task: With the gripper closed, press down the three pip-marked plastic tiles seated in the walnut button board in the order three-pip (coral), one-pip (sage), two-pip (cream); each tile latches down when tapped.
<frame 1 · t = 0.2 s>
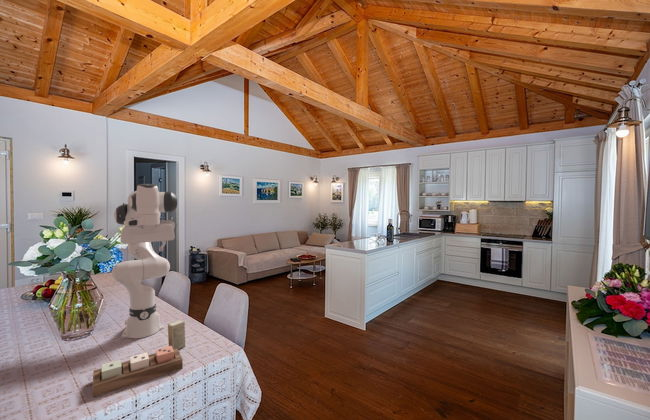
hand: (149, 252, 126), 47 cm above the table, fingers open, 8 cm apart
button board: (139, 374, 116), on the table
tile 1pip: (111, 371, 110), point 4 cm above the table, slide at 0.0 cm
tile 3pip: (164, 356, 121), point 4 cm above the table, slide at 0.0 cm
tile 2pip: (139, 363, 116), point 4 cm above the table, slide at 0.0 cm
skincare box: (176, 348, 137), on the table
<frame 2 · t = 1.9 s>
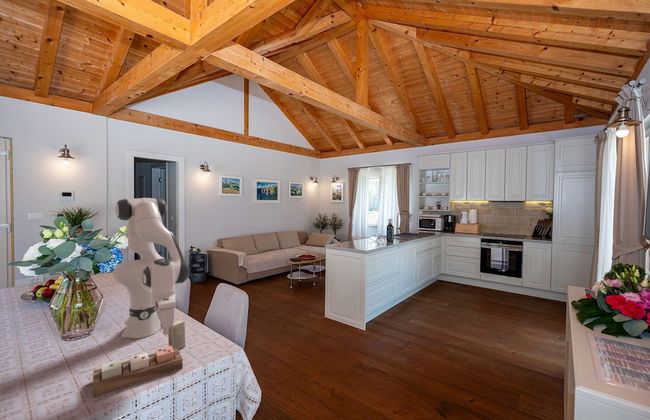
hand: (164, 330, 121), 15 cm above the table, fingers open, 6 cm apart
nothing on the table moved.
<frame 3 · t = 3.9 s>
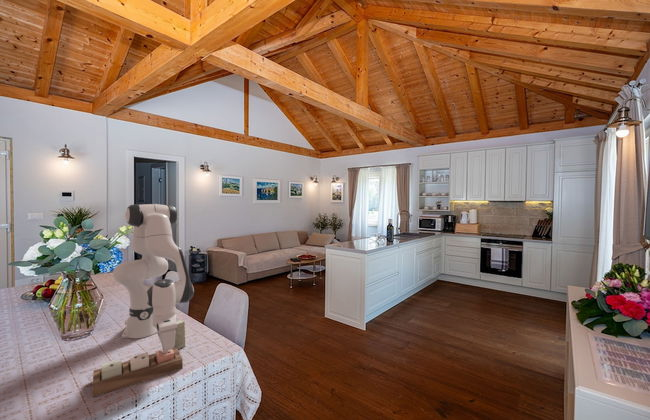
hand: (165, 351, 121), 6 cm above the table, fingers closed, pressing on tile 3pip
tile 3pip: (164, 357, 121), point 4 cm above the table, slide at 0.7 cm, touching gripper
everything else where it was.
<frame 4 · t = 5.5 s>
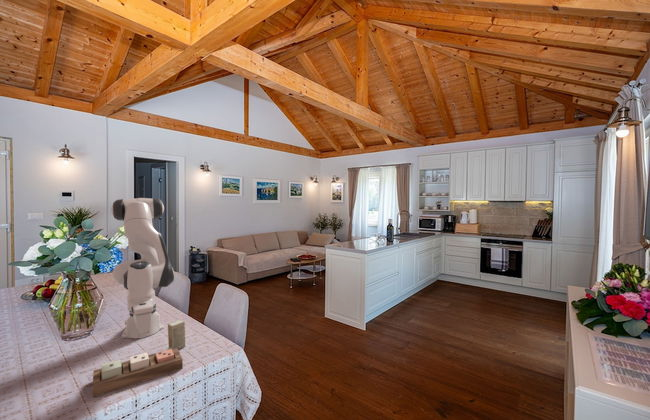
hand: (141, 336, 116), 15 cm above the table, fingers closed
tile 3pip: (164, 359, 121), point 3 cm above the table, slide at 1.4 cm
everything else where it was.
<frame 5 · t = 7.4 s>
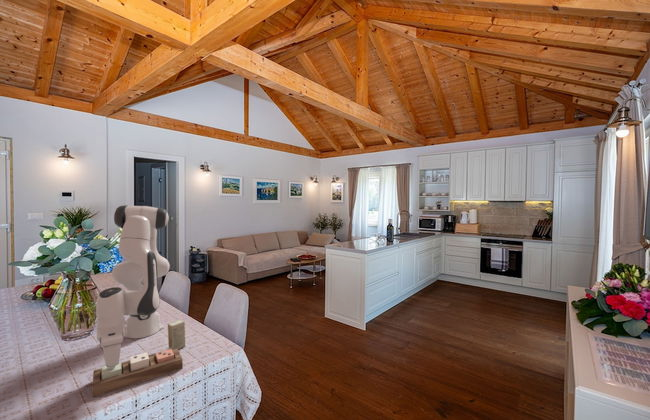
hand: (112, 367, 110), 6 cm above the table, fingers closed, pressing on tile 1pip
tile 1pip: (111, 373, 110), point 3 cm above the table, slide at 0.9 cm, touching gripper
everything else where it was.
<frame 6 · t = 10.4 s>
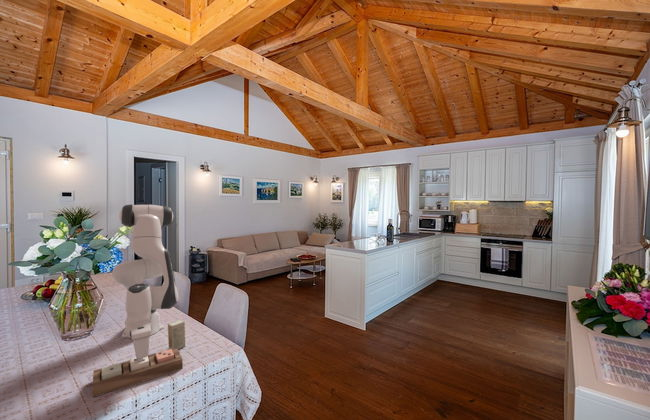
hand: (140, 359, 116), 6 cm above the table, fingers closed, pressing on tile 2pip
tile 1pip: (111, 375, 110), point 3 cm above the table, slide at 1.4 cm
tile 2pip: (139, 365, 116), point 3 cm above the table, slide at 1.0 cm, touching gripper
everything else where it was.
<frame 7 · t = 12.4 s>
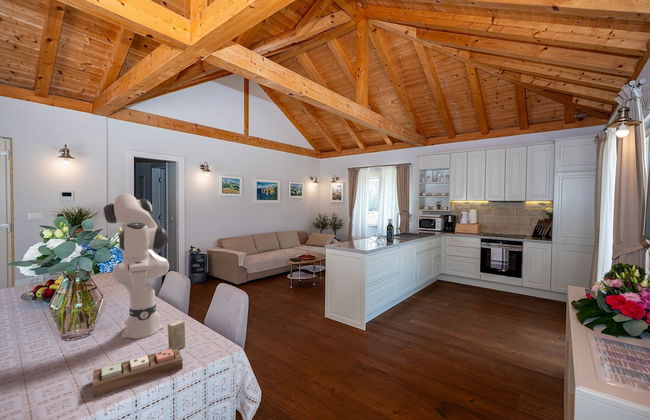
hand: (137, 294, 120), 31 cm above the table, fingers closed
tile 2pip: (139, 366, 116), point 3 cm above the table, slide at 1.4 cm
everything else where it was.
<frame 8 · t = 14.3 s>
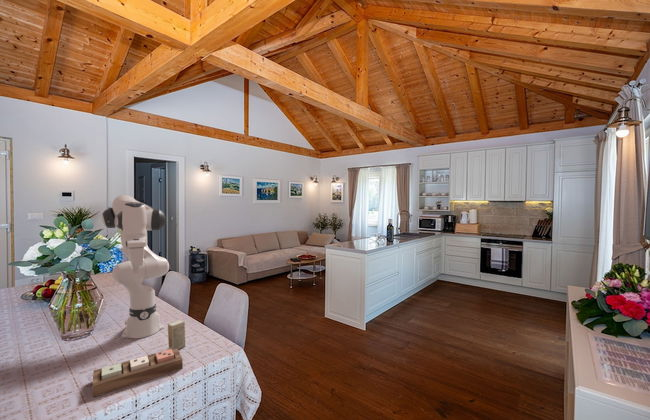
hand: (135, 273, 122), 39 cm above the table, fingers closed
nothing on the table moved.
at the end: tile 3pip slide at 1.4 cm; tile 1pip slide at 1.4 cm; tile 2pip slide at 1.4 cm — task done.
